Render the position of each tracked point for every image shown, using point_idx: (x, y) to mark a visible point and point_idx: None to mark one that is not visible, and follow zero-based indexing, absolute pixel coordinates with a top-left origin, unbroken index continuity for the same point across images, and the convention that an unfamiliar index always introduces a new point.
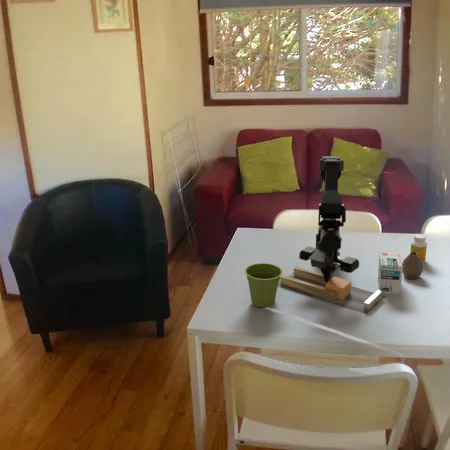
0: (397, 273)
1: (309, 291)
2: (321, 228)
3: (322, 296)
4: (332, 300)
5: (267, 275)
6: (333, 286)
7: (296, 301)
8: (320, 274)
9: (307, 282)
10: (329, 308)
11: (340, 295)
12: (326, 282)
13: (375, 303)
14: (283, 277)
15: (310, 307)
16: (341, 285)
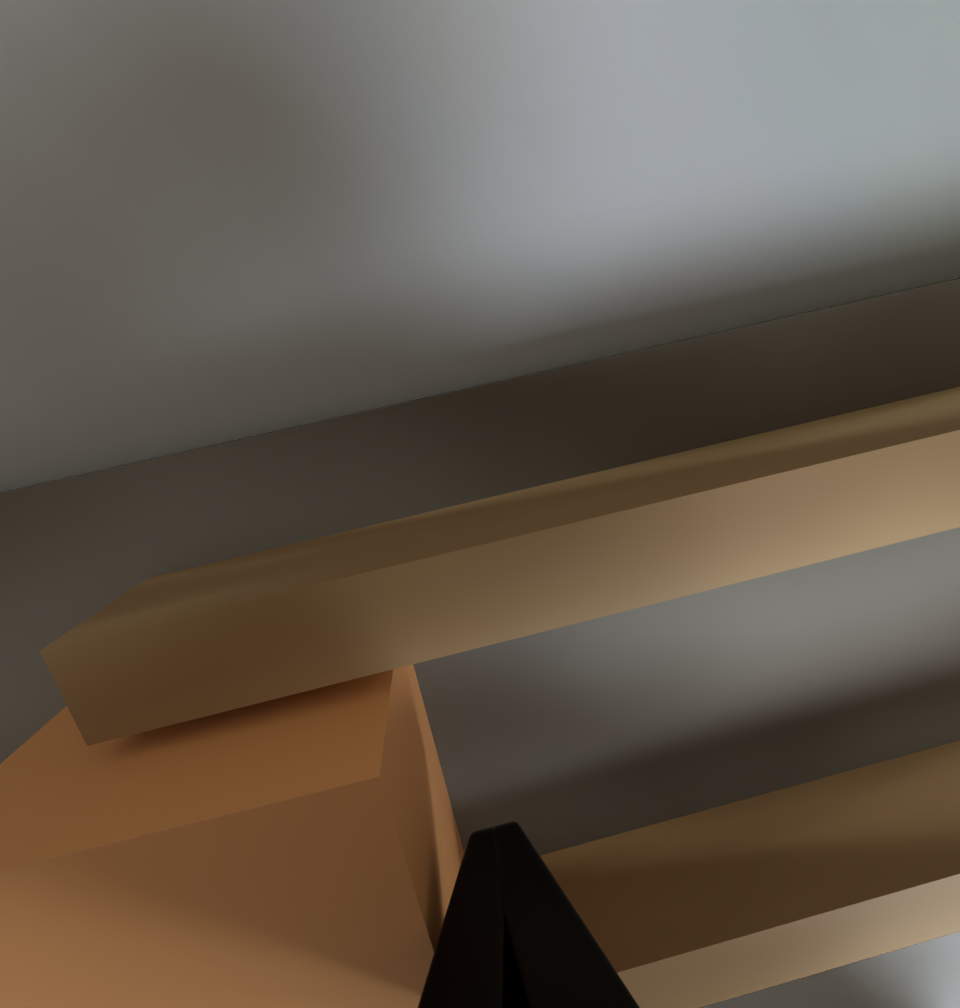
0: None
1: (628, 470)
2: None
3: (369, 525)
4: (158, 554)
5: None
6: (145, 816)
7: (613, 105)
8: (799, 952)
9: (834, 681)
10: (52, 357)
11: (66, 729)
12: (493, 839)
13: None
14: None
15: (288, 115)
16: (14, 986)
